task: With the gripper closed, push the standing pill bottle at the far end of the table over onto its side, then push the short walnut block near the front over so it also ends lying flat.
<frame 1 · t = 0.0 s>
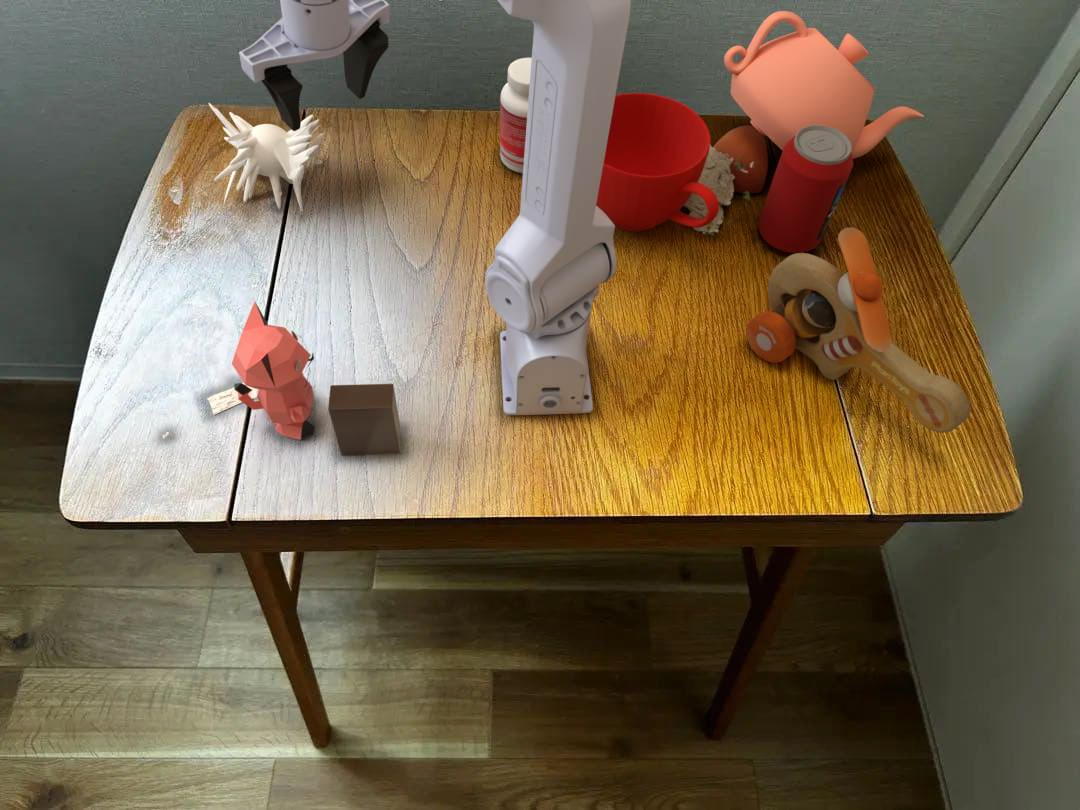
hand: (324, 107, 83), 11 cm above the table, tool pointing down, fingers open, 7 cm apart
toy helicopter: (832, 377, 80), on the table
teapot: (773, 142, 94), point 3 cm above the table, touching brown egg
cat figurine: (290, 418, 75), on the table
stone fragment: (715, 162, 89), point 5 cm above the table, touching brown egg
ceramic cup: (643, 222, 91), on the table
walnut block: (371, 443, 73), on the table
spiky ball: (272, 193, 91), on the table
beverage can: (787, 236, 90), on the table
brown egg: (727, 142, 92), point 4 cm above the table, touching stone fragment, teapot
pill bottle: (527, 159, 96), on the table
card: (210, 411, 75), on the table
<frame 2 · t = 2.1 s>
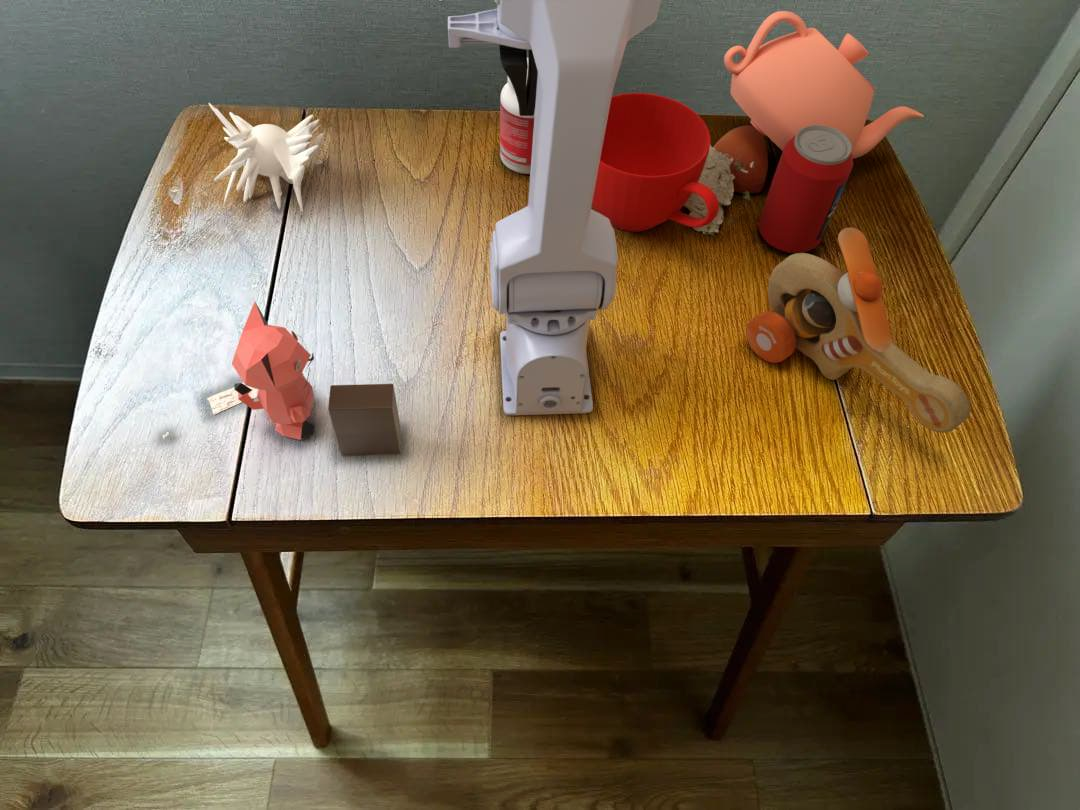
hand: (526, 109, 84), 10 cm above the table, tool pointing down, fingers closed
nothing on the table moved.
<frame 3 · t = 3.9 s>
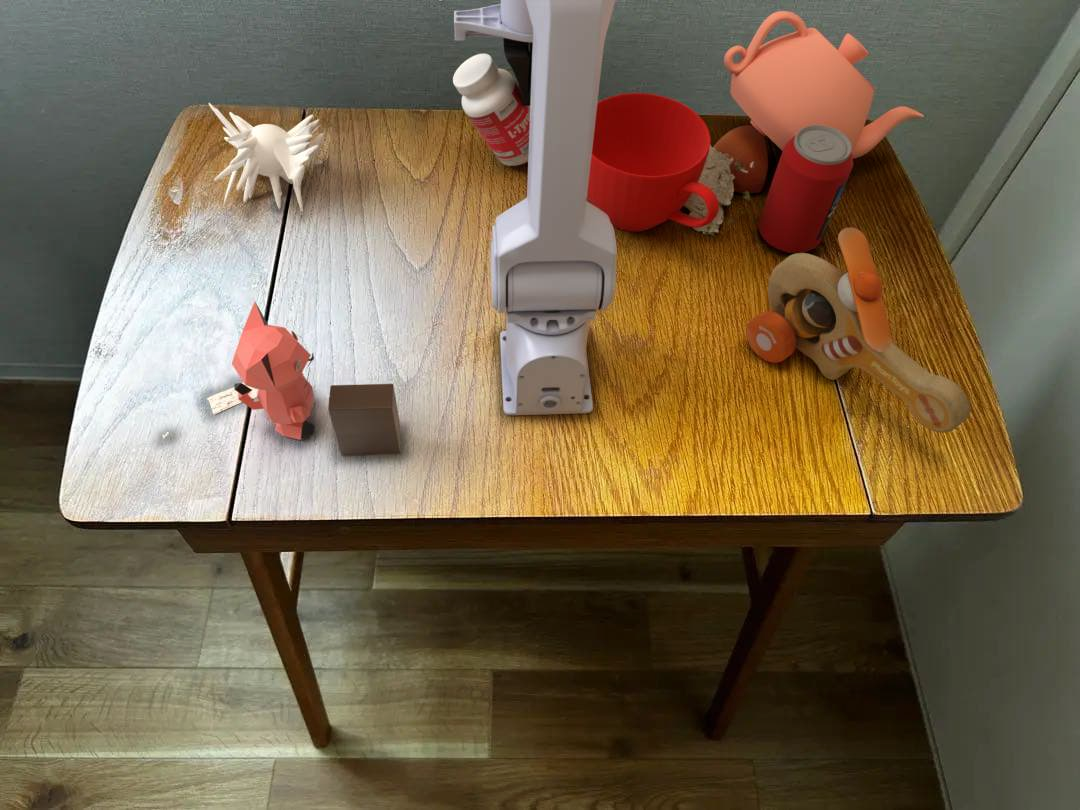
hand: (527, 99, 89), 8 cm above the table, tool pointing down, fingers closed
pill bottle: (524, 148, 95), point 1 cm above the table, touching gripper
everything else where it was.
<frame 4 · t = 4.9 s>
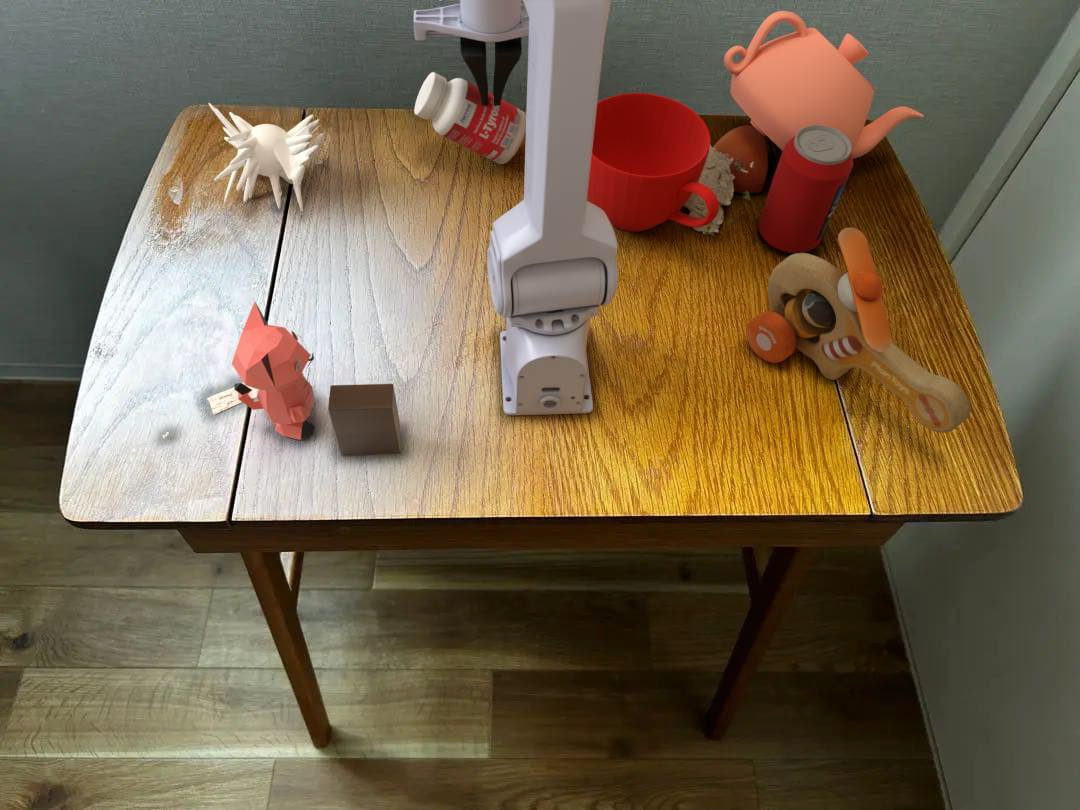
hand: (491, 99, 88), 8 cm above the table, tool pointing down, fingers closed
pill bottle: (515, 140, 93), point 3 cm above the table, touching gripper
everything else where it was.
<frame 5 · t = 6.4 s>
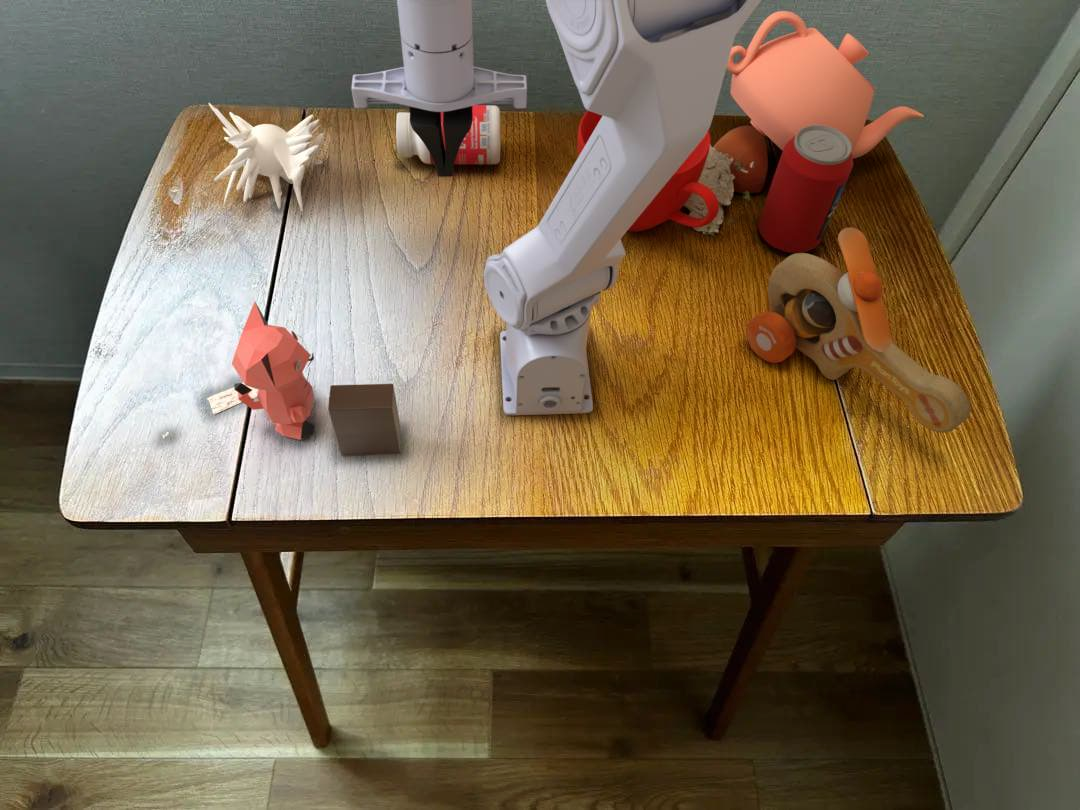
hand: (445, 169, 79), 10 cm above the table, tool pointing down, fingers closed
pill bottle: (501, 134, 93), point 3 cm above the table
everything else where it was.
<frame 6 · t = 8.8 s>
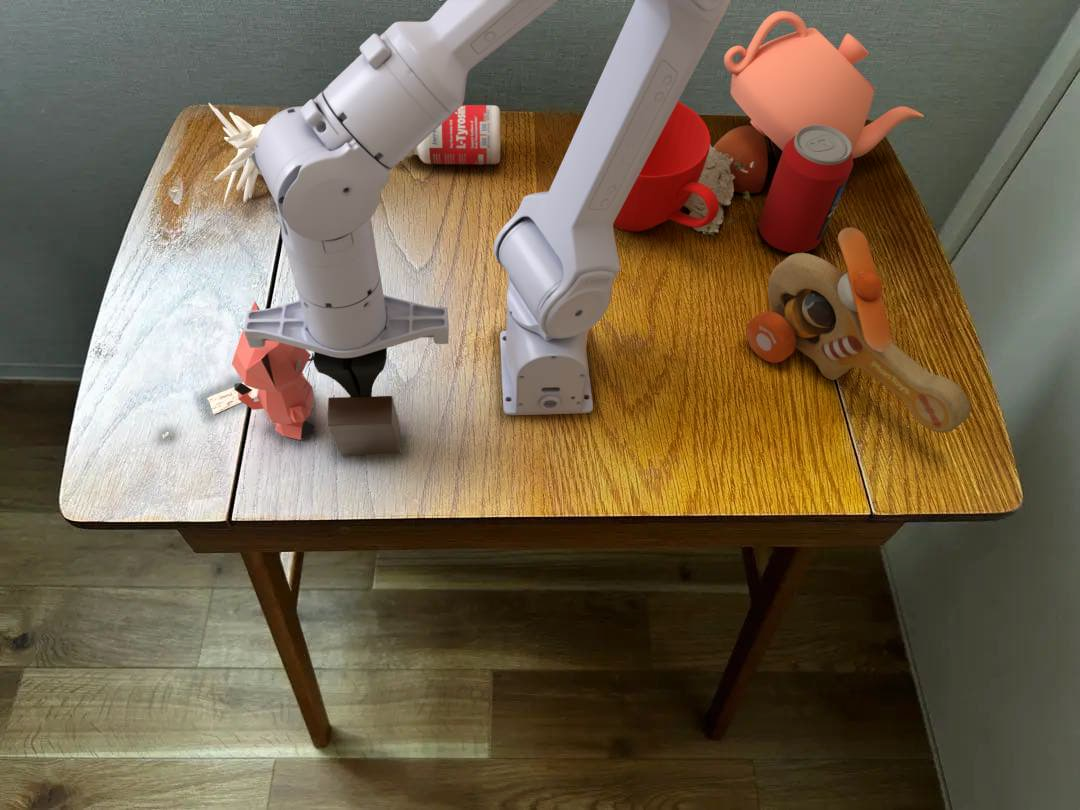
hand: (363, 392, 69), 6 cm above the table, tool pointing down, fingers closed
walnut block: (371, 441, 73), on the table, tilted 12°, touching gripper
everything else where it was.
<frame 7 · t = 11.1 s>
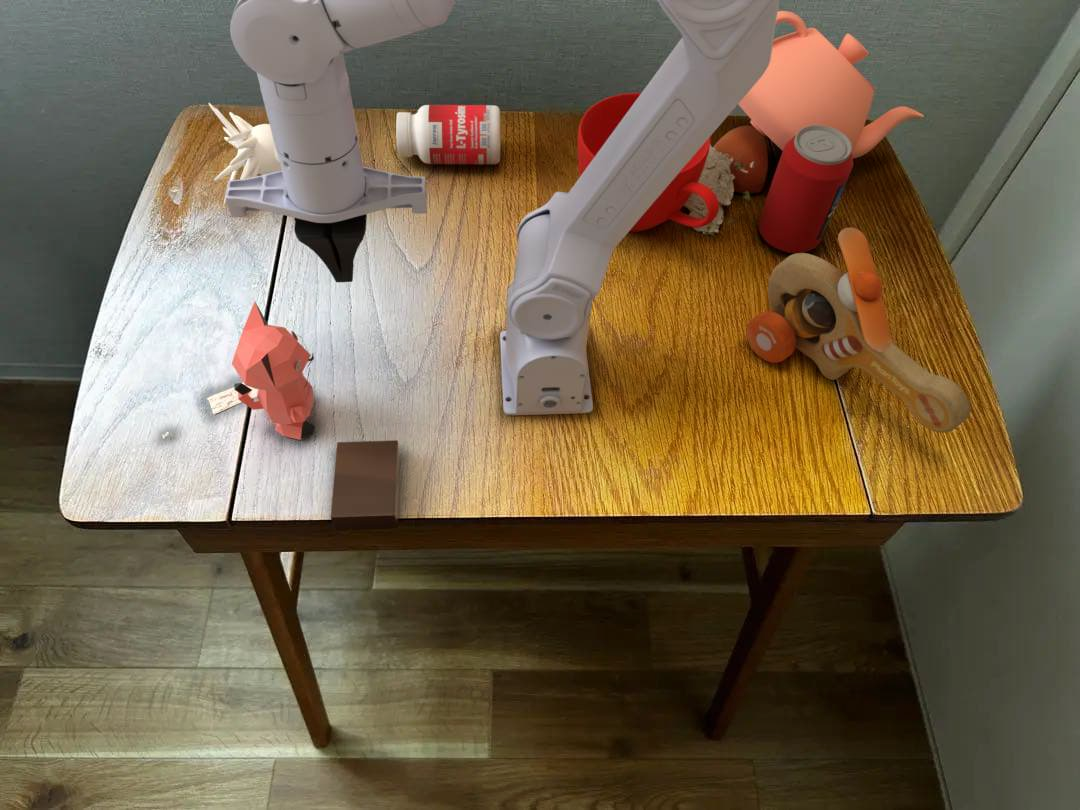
hand: (344, 273, 70), 10 cm above the table, tool pointing down, fingers closed
walnut block: (369, 448, 72), point 1 cm above the table, tilted 90°
everything else where it was.
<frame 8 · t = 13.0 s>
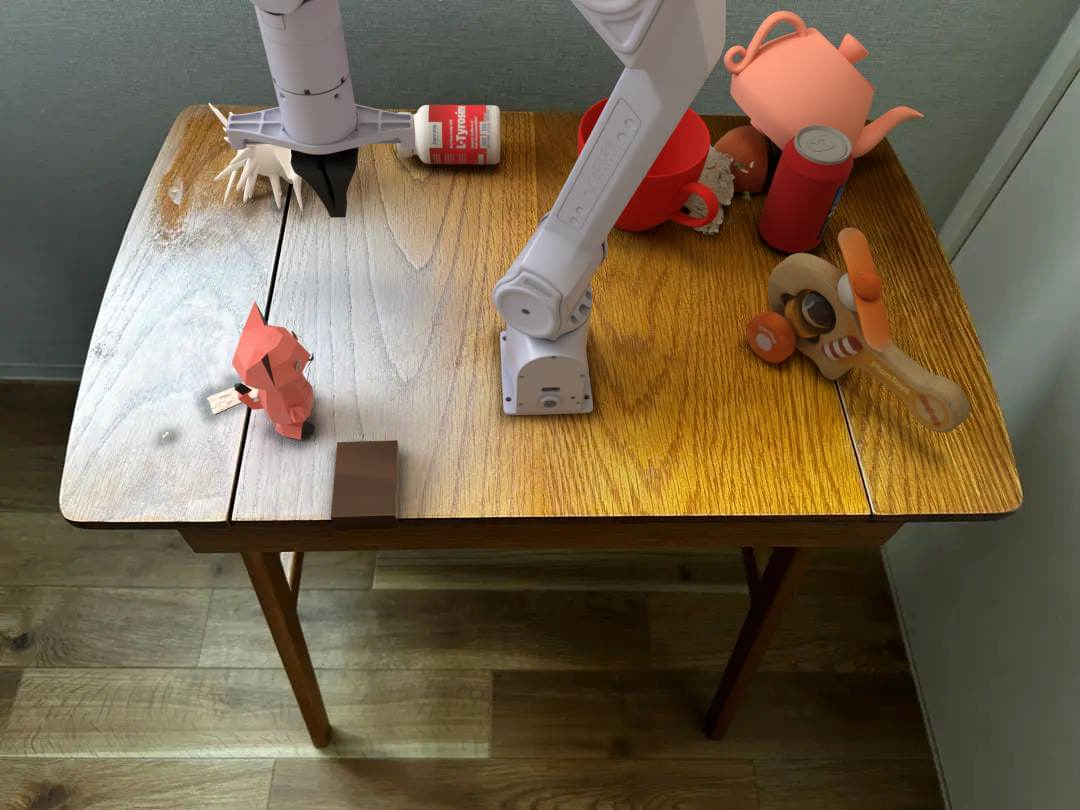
hand: (338, 209, 75), 10 cm above the table, tool pointing down, fingers closed
nothing on the table moved.
at the end: pill bottle tilted 90°; walnut block tilted 90° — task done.
